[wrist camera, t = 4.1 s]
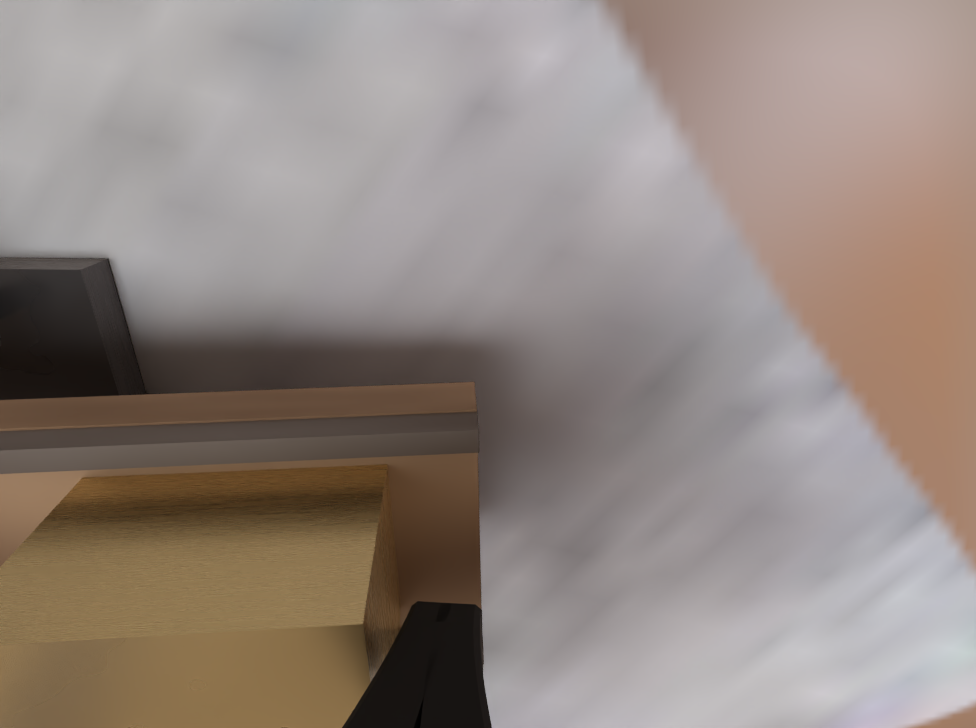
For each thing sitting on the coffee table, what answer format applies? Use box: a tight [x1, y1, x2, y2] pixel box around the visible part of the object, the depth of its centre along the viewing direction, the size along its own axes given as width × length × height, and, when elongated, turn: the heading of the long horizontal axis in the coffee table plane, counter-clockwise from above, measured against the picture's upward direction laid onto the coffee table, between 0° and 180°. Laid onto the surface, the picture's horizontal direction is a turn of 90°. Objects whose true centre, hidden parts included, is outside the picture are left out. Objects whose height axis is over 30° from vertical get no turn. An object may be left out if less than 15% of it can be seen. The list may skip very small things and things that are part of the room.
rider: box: [0, 464, 401, 728], centre depth 11 cm, size 4×6×4 cm, turn 91°
